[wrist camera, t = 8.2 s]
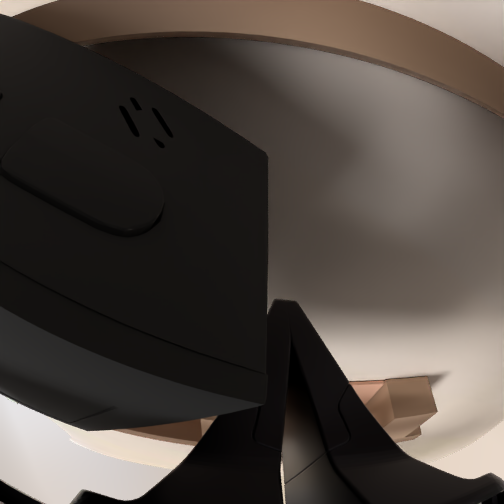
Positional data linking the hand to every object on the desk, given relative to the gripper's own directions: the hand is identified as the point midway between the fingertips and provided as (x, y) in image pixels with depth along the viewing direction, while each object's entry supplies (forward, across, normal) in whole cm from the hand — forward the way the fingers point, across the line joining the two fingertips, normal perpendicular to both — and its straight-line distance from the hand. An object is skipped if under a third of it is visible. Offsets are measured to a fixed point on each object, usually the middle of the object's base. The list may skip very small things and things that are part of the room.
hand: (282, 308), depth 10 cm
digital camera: (-2, +4, -1) cm, 4 cm away
